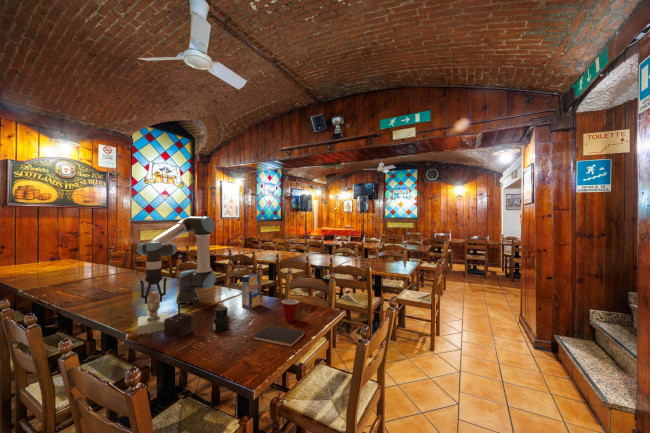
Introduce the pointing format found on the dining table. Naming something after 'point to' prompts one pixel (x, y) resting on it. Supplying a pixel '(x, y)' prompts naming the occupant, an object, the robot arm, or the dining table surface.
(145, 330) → the board
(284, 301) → the plastic cup
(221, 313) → the ink bottle
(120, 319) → the dining table surface
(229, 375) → the dining table surface
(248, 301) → the blue yellow cereal box
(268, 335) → the hardcover book
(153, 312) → the peg
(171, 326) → the dark boxy piece
